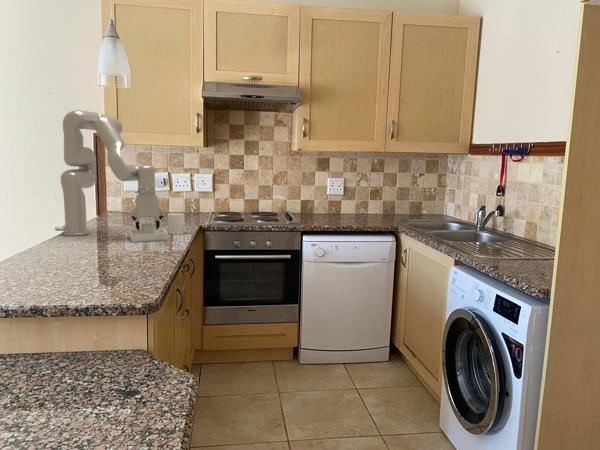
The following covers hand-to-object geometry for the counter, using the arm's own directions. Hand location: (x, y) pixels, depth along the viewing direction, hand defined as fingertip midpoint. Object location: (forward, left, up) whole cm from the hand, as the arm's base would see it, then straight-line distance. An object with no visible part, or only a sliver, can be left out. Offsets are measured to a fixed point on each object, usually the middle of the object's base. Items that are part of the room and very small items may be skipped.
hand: (147, 229), depth 228 cm
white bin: (0, 0, -4) cm, 4 cm away
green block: (0, 0, -4) cm, 4 cm away
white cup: (+15, +11, -5) cm, 19 cm away
